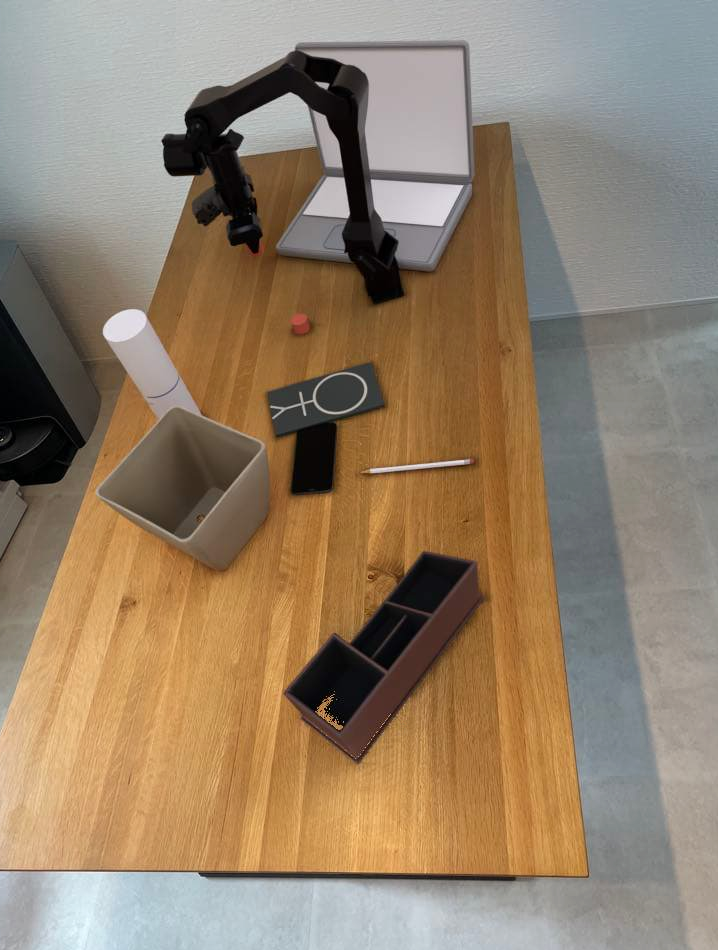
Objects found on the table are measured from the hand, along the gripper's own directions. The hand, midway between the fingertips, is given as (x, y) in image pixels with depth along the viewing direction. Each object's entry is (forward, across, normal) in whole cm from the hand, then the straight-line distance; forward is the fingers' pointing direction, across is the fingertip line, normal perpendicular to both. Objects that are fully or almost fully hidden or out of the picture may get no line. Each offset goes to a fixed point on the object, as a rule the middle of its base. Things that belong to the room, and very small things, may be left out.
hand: (255, 247), depth 135 cm
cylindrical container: (+10, +34, -20) cm, 40 cm away
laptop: (+10, -11, +26) cm, 30 cm away
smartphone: (+11, +48, +2) cm, 49 cm away
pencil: (+10, +56, +18) cm, 60 cm away
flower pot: (+10, +58, -16) cm, 60 cm away
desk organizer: (+10, +87, +8) cm, 88 cm away
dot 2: (+10, +15, +5) cm, 19 cm away
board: (+10, +36, +6) cm, 38 cm away
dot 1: (+1, 0, 0) cm, 1 cm away
